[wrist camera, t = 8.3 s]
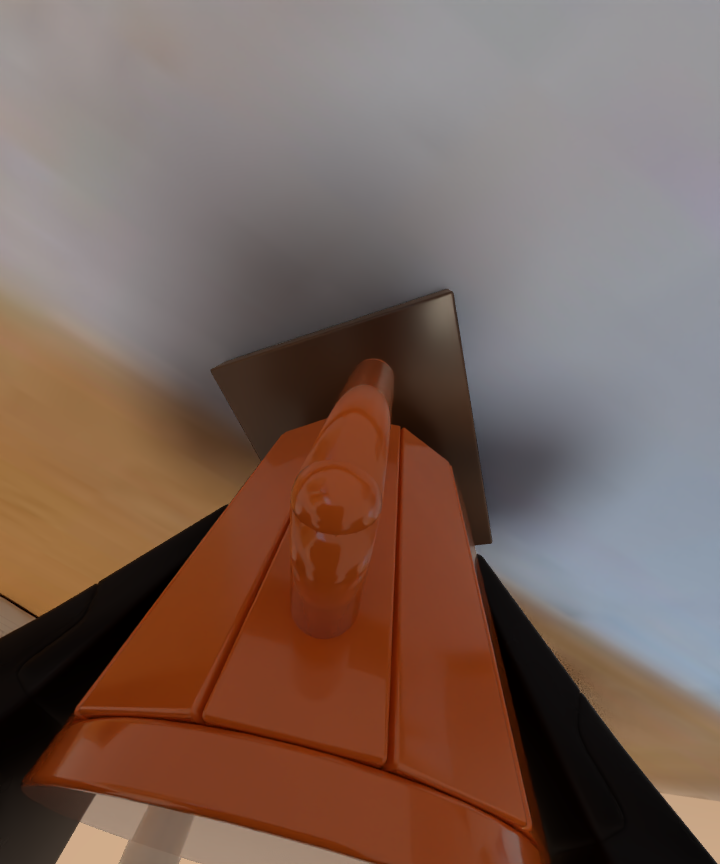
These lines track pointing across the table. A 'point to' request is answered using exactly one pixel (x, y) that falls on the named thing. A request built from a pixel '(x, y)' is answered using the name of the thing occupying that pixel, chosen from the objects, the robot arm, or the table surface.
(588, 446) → the table surface
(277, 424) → the cup stand
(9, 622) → the product box
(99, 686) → the orange cup
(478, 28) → the table surface
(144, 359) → the table surface
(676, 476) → the table surface
